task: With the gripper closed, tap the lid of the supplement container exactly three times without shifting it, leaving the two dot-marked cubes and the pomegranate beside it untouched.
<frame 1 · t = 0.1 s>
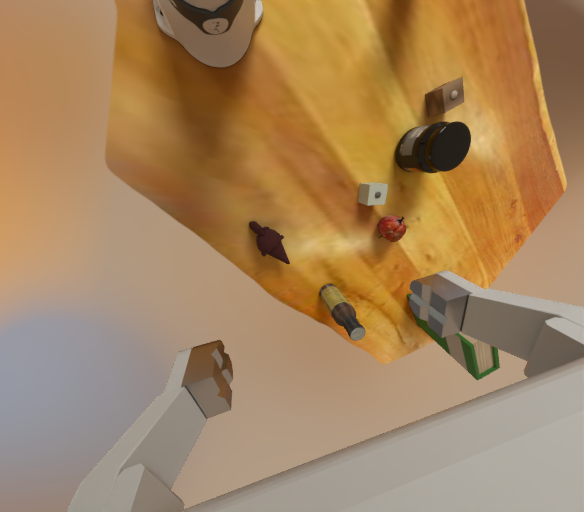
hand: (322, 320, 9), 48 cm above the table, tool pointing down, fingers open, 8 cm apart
walnut cube: (435, 100, 52), on the table
hardback book: (420, 305, 80), on the table
pomegranate: (383, 225, 63), on the table
sage cube: (367, 192, 58), on the table
supplement container: (411, 150, 56), on the table
sauce bottle: (327, 290, 69), on the table
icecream: (269, 239, 58), on the table
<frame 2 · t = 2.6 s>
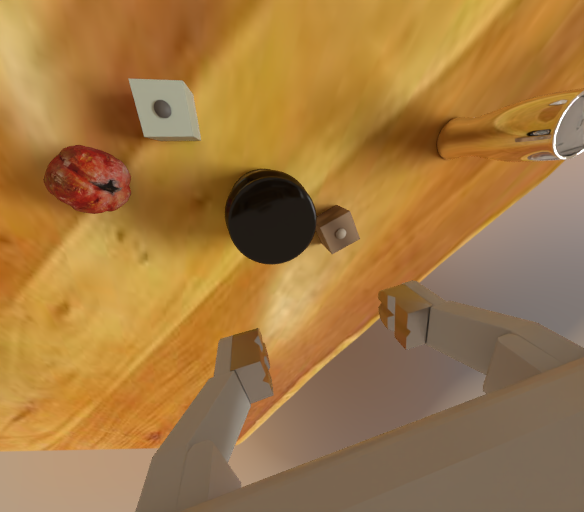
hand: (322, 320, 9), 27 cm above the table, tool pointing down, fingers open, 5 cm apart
walnut cube: (328, 224, 37), on the table
pomegranate: (108, 179, 28), on the table
sage cube: (176, 118, 27), on the table
supplement container: (264, 204, 33), on the table
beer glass: (451, 139, 35), on the table
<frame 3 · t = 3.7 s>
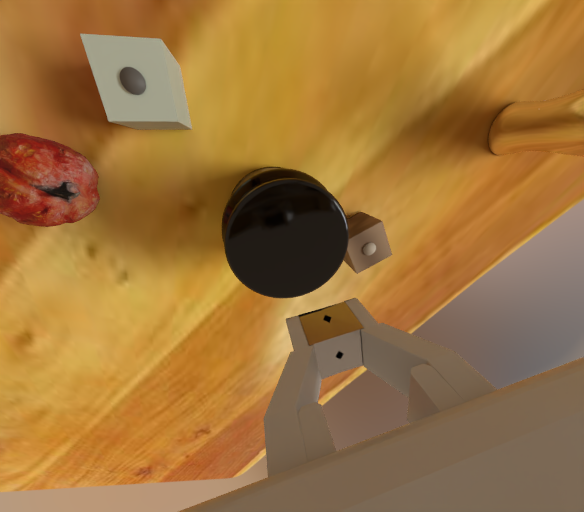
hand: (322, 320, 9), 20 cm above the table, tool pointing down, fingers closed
walnut cube: (350, 235, 30), on the table
pomegranate: (71, 179, 21), on the table
sage cube: (158, 99, 20), on the table
supplement container: (272, 211, 27), on the table
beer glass: (506, 130, 28), on the table
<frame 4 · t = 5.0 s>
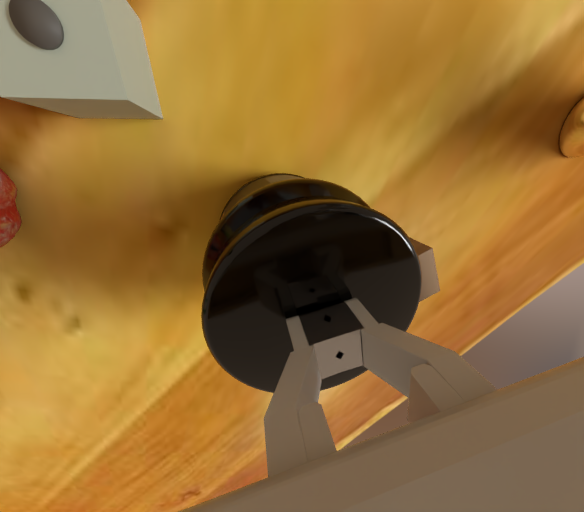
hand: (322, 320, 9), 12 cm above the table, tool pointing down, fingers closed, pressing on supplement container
walnut cube: (379, 260, 23), on the table
sage cube: (108, 71, 13), on the table
supplement container: (279, 232, 20), on the table, touching gripper
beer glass: (582, 125, 22), on the table
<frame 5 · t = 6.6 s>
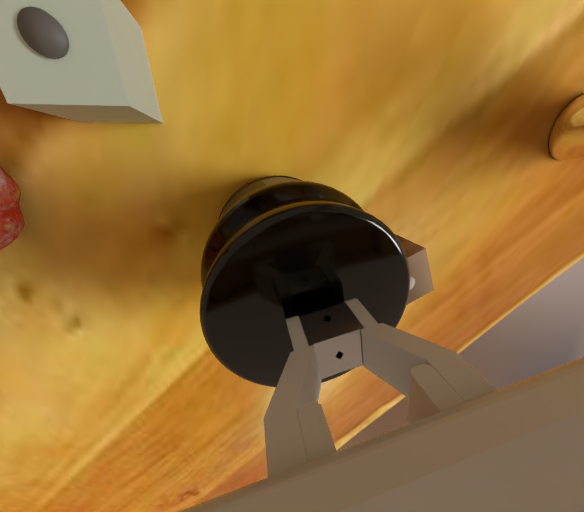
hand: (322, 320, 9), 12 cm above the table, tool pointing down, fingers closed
walnut cube: (374, 260, 24), on the table
sage cube: (110, 77, 14), on the table
supplement container: (276, 233, 20), on the table
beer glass: (570, 128, 22), on the table
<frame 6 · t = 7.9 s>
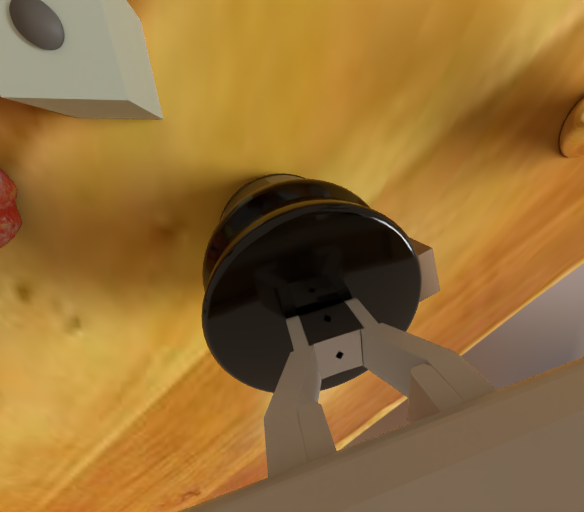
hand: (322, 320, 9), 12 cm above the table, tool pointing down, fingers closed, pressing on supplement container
walnut cube: (379, 260, 23), on the table
sage cube: (109, 71, 13), on the table
supplement container: (279, 232, 20), on the table, touching gripper
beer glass: (582, 125, 22), on the table
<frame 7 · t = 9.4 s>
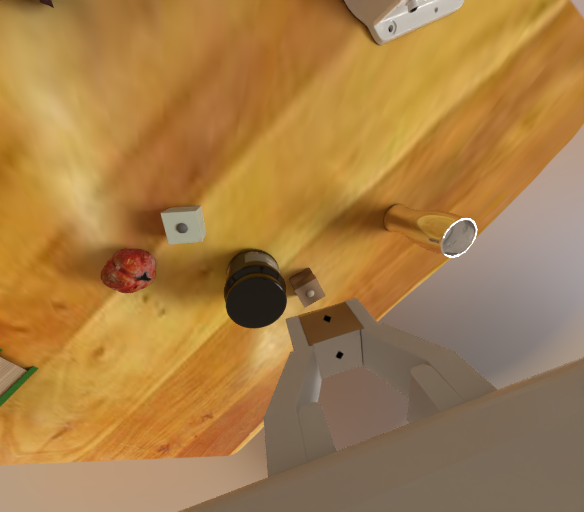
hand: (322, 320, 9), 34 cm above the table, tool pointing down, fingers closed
walnut cube: (303, 281, 48), on the table
pomegranate: (138, 261, 39), on the table
sage cube: (189, 220, 38), on the table
supplement container: (253, 270, 44), on the table
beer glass: (395, 217, 47), on the table
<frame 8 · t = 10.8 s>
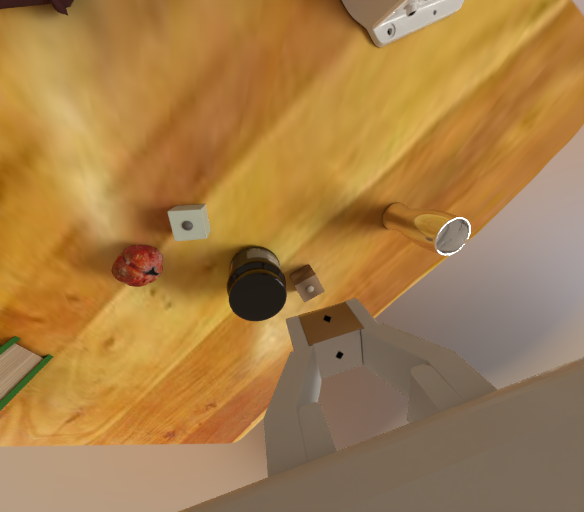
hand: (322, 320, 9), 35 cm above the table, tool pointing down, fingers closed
walnut cube: (303, 277, 49), on the table
hardback book: (1, 368, 43), on the table
pomegranate: (146, 257, 41), on the table
sage cube: (194, 218, 39), on the table
supplement container: (255, 266, 46), on the table
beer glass: (393, 216, 48), on the table
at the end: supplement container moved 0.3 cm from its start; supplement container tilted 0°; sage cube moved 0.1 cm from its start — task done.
